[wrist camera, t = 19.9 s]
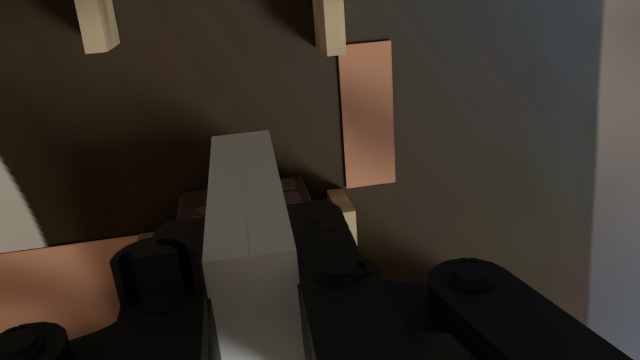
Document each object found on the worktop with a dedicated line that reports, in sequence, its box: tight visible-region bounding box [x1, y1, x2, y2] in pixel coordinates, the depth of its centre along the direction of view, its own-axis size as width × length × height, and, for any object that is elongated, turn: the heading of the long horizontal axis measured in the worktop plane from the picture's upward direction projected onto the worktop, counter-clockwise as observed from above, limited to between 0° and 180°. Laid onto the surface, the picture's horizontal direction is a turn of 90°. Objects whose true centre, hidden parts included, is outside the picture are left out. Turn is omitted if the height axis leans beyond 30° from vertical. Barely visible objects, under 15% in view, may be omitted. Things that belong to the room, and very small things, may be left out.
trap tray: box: [0, 0, 395, 340], centre depth 25 cm, size 24×22×3 cm
